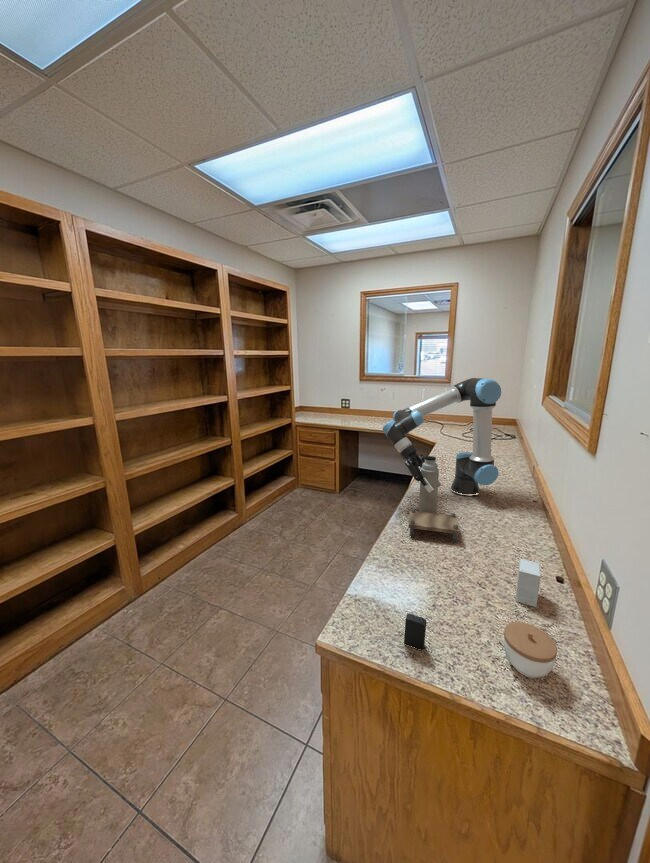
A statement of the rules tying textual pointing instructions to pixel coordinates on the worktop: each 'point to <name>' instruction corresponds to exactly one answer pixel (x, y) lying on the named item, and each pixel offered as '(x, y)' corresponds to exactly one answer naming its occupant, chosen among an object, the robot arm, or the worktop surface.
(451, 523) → the peg shelf
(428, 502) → the thermos bottle
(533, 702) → the worktop surface
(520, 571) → the small box
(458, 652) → the worktop surface
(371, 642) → the worktop surface
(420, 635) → the ink cartridge
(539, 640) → the lidded jar
